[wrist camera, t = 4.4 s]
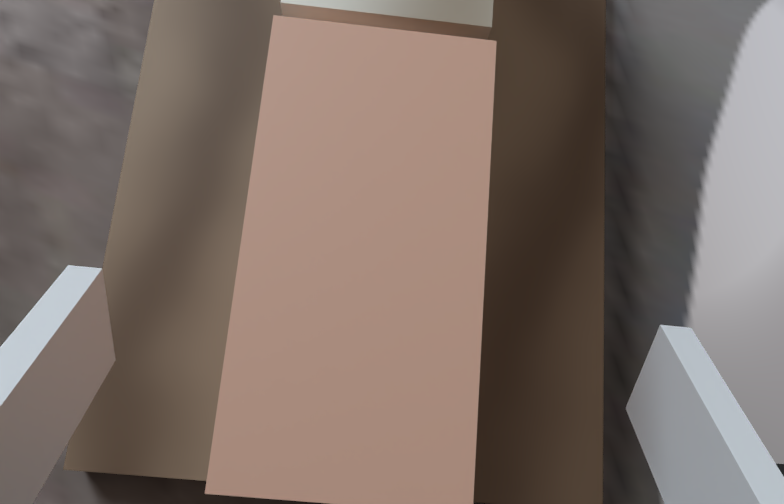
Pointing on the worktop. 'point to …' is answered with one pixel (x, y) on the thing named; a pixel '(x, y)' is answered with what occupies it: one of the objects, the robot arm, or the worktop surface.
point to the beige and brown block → (226, 217)
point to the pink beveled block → (360, 271)
